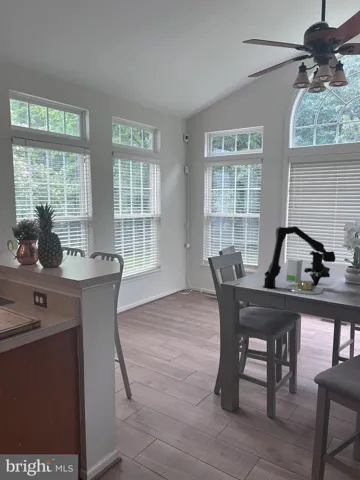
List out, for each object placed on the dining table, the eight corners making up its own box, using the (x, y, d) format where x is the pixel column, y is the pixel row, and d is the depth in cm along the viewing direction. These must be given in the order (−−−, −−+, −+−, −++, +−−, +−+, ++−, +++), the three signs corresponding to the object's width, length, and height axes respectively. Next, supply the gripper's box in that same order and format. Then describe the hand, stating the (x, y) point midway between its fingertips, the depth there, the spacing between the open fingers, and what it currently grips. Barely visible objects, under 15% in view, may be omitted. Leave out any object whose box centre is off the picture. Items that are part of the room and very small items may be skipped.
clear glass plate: (305, 295, 210) (305, 288, 209) (278, 287, 229) (278, 281, 228) (330, 292, 220) (330, 285, 220) (302, 284, 239) (303, 278, 239)
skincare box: (285, 280, 252) (286, 258, 250) (291, 279, 256) (292, 258, 254) (296, 282, 245) (297, 260, 244) (301, 281, 249) (302, 259, 248)
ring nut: (305, 290, 219) (305, 284, 219) (294, 287, 226) (295, 281, 225) (320, 287, 227) (320, 281, 226) (310, 284, 234) (310, 279, 233)
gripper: (337, 263, 219) (336, 288, 220) (319, 259, 237) (317, 282, 238) (322, 264, 216) (320, 289, 217) (304, 259, 234) (303, 282, 235)
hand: (315, 285), depth 227 cm, fingers closed
